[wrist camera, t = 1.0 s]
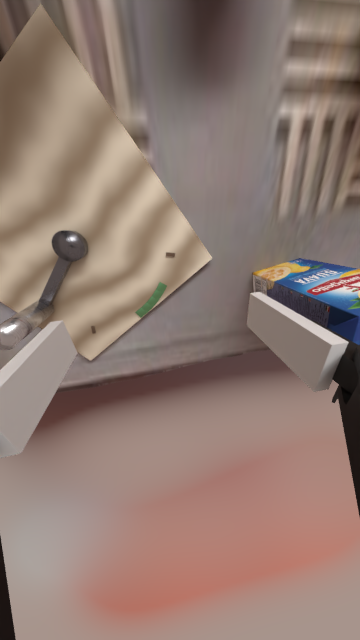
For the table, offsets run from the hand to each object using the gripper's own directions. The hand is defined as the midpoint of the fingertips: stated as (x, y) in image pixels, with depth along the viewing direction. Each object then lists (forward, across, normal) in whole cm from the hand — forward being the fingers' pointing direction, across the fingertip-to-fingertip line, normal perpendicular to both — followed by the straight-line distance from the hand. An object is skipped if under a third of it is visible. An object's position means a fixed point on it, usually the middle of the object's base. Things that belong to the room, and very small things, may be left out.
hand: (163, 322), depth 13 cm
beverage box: (+24, +26, -7) cm, 37 cm away
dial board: (+24, -12, +5) cm, 28 cm away
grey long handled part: (+22, -17, 0) cm, 28 cm away
